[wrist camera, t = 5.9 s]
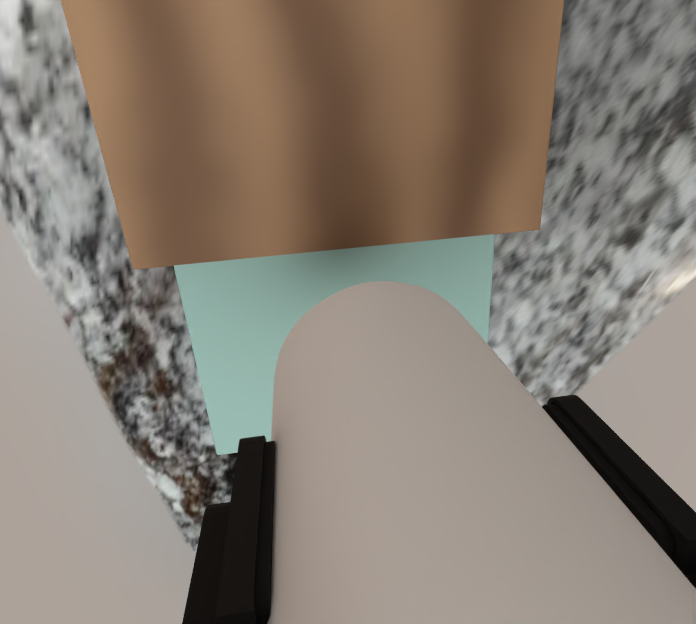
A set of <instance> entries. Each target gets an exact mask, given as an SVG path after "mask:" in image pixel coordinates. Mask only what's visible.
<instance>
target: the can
mask: <svg viewBox="0 0 696 624" xmlns="http://www.w3.org/2000/svg"><path fill="white" fill-rule="evenodd" d="M271 441H275V475H274V509H273V542H272V577H271V612H270V618H269V620H268V623H267V624H696V589H695V588H694V586H693V585H692V584H691V583H690V582H689V580H688V579H687V578H686V577H685V576H684V574H683V573H682V572H681V571H680V570H679V568H678V567H677V566H676V565H675V564H674V562H673V561H672V560H671V559H670V558H669V556H668V555H667V554H666V553H665V552H664V551H663V549H662V548H661V547H660V546H659V545H658V543H657V542H656V541H655V540H654V539H653V538H652V536H651V535H650V534H649V533H648V532H647V530H646V529H645V528H644V527H643V526H642V525H641V523H640V522H639V521H638V520H637V519H636V517H635V516H634V515H633V514H632V513H631V512H630V510H629V509H628V508H627V507H626V506H625V504H624V503H623V502H622V501H621V500H620V499H619V497H618V496H617V495H616V494H615V493H614V491H613V490H612V489H611V488H610V487H609V486H608V484H607V483H606V482H605V481H604V480H603V478H602V477H601V476H600V475H599V474H598V473H597V471H596V470H595V469H594V468H593V467H592V466H591V464H590V463H589V462H588V461H587V460H586V458H585V457H584V456H583V455H582V454H581V453H580V451H579V450H578V449H577V448H576V447H575V446H574V444H573V443H572V442H571V441H570V440H569V439H568V437H567V436H566V435H565V434H564V433H563V431H562V430H561V429H560V428H559V427H558V426H557V424H556V423H555V422H554V421H553V420H552V419H551V417H550V416H549V415H548V414H547V413H546V411H545V410H544V409H543V408H542V407H541V406H540V404H539V403H538V402H537V401H536V400H535V399H534V397H533V396H532V395H531V394H530V393H529V392H528V390H527V389H526V388H525V387H524V386H523V385H522V383H521V382H520V381H519V380H518V379H517V378H516V376H515V375H514V374H513V373H512V372H511V371H510V369H509V368H508V367H507V366H506V365H505V364H504V362H503V361H502V360H501V359H500V358H499V357H498V355H497V354H496V353H495V352H494V351H493V350H492V348H491V347H490V346H489V345H488V344H487V343H486V342H485V340H484V339H483V338H482V337H481V336H480V335H479V333H478V332H477V331H476V330H475V329H474V328H473V327H472V325H471V324H470V323H469V322H468V321H467V320H466V319H465V318H464V316H463V315H462V314H461V313H460V312H459V311H458V310H457V309H456V308H455V307H454V306H453V305H451V304H450V303H449V302H448V301H446V300H445V299H444V298H442V297H441V296H439V295H437V294H436V293H434V292H432V291H430V290H427V289H425V288H422V287H419V286H416V285H412V284H408V283H402V282H393V281H372V282H366V283H361V284H357V285H354V286H351V287H348V288H346V289H343V290H341V291H339V292H337V293H335V294H333V295H331V296H329V297H328V298H326V299H324V300H323V301H321V302H320V303H318V304H317V305H315V306H314V307H313V308H311V309H310V310H309V311H308V312H306V313H305V314H304V315H303V316H302V317H301V318H300V319H299V320H298V322H297V323H296V324H295V325H294V326H293V328H292V329H291V331H290V332H289V334H288V335H287V337H286V339H285V341H284V343H283V345H282V347H281V350H280V353H279V356H278V360H277V364H276V369H275V378H274V392H273V409H272V429H271Z"/></svg>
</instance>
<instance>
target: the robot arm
mask: <svg viewBox="0 0 696 624" xmlns="http://www.w3.org/2000/svg"><path fill="white" fill-rule="evenodd" d="M542 408H543V409H544V410H545V411H546V413H547V414H548V415H549V416H550V417H551V419H552V420H553V421H554V422H555V423H556V424H557V426H558V427H559V428H560V429H561V430H562V431H563V433H564V434H565V435H566V436H567V437H568V439H569V440H570V441H571V442H572V443H573V444H574V446H575V447H576V448H577V449H578V450H579V451H580V453H581V454H582V455H583V456H584V457H585V458H586V460H587V461H588V462H589V463H590V464H591V466H592V467H593V468H594V469H595V470H596V471H597V473H598V474H599V475H600V476H601V477H602V478H603V480H604V481H605V482H606V483H607V484H608V486H609V487H610V488H611V489H612V490H613V491H614V493H615V494H616V495H617V496H618V497H619V499H620V500H621V501H622V502H623V503H624V504H625V506H626V507H627V508H628V509H629V510H630V512H631V513H632V514H633V515H634V516H635V517H636V519H637V520H638V521H639V522H640V523H641V525H642V526H643V527H644V528H645V529H646V530H647V532H648V533H649V534H650V535H651V536H652V538H653V539H654V540H655V541H656V542H657V543H658V545H659V546H660V547H661V548H662V549H663V551H664V552H665V553H666V554H667V555H668V556H669V558H670V559H671V560H672V561H673V562H674V564H675V565H676V566H677V567H678V568H679V570H680V571H681V572H682V573H683V574H684V576H685V577H686V578H687V579H688V580H689V582H690V583H691V584H692V585H693V586H694V588H695V589H696V512H695V511H694V510H693V509H692V508H691V507H690V506H689V505H687V504H686V502H685V501H684V500H683V499H682V498H681V497H680V496H678V494H676V493H675V492H674V491H673V490H672V489H671V488H670V487H669V486H668V485H667V484H666V483H665V482H664V481H663V480H662V479H661V478H660V477H659V476H658V475H657V474H656V473H655V472H654V471H653V470H652V469H651V468H650V467H649V466H648V465H647V464H646V463H645V462H644V461H643V460H642V459H641V458H640V457H639V456H638V455H637V454H636V453H635V452H634V451H633V450H632V449H631V448H630V447H629V446H628V445H627V444H626V443H625V442H624V441H623V440H622V439H621V438H620V437H619V436H618V435H617V434H616V433H615V432H614V431H613V430H612V429H611V428H610V427H609V426H608V425H607V424H606V423H605V422H604V421H603V420H602V419H601V418H600V417H599V416H597V414H596V413H595V412H594V411H593V410H592V409H591V408H590V407H589V406H588V405H587V404H585V403H584V402H583V401H582V400H581V399H580V398H579V397H578V396H576V395H569V396H561V397H554V398H550V399H549V401H548V403H547V405H544V406H543V407H542ZM274 475H275V441H268V442H266V438H265V436H264V435H263V436H256V437H248V438H241V439H240V440H239V445H238V452H237V460H236V467H235V474H234V481H233V489H232V496H231V502H227V503H220V504H213V505H208V506H207V507H206V510H205V513H204V517H203V522H202V527H201V532H200V537H199V542H198V547H197V552H196V557H195V563H194V568H193V573H192V578H191V583H190V588H189V593H188V598H187V603H186V608H185V613H184V618H183V623H182V624H267V623H268V620H269V618H270V612H271V577H272V542H273V509H274Z"/></svg>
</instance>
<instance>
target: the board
mask: <svg viewBox="0 0 696 624" xmlns="http://www.w3.org/2000/svg"><path fill="white" fill-rule="evenodd" d="M61 3H62V6H63V10H64V14H65V17H66V21H67V25H68V29H69V32H70V36H71V40H72V44H73V47H74V51H75V55H76V58H77V62H78V66H79V70H80V73H81V77H82V81H83V85H84V88H85V92H86V96H87V99H88V103H89V107H90V111H91V114H92V118H93V122H94V125H95V129H96V133H97V137H98V140H99V144H100V148H101V152H102V155H103V159H104V163H105V166H106V170H107V174H108V178H109V181H110V185H111V189H112V193H113V196H114V200H115V204H116V207H117V211H118V215H119V219H120V222H121V226H122V230H123V234H124V237H125V241H126V245H127V248H128V252H129V256H130V260H131V263H132V267H133V269H143V268H153V267H164V266H174V265H184V264H194V263H205V262H215V261H225V260H235V259H245V258H256V257H266V256H276V255H286V254H297V253H307V252H317V251H327V250H338V249H348V248H358V247H368V246H378V245H389V244H399V243H409V242H419V241H430V240H440V239H450V238H460V237H471V236H481V235H491V234H501V233H511V232H522V231H532V230H540V223H541V213H542V204H543V195H544V185H545V176H546V166H547V157H548V147H549V138H550V128H551V119H552V109H553V100H554V90H555V81H556V71H557V62H558V52H559V43H560V34H561V24H562V15H563V5H564V0H61Z"/></svg>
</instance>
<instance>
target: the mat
mask: <svg viewBox="0 0 696 624" xmlns="http://www.w3.org/2000/svg"><path fill="white" fill-rule="evenodd" d="M494 237H495V234H491V235H481V236H471V237H460V238H450V239H440V240H430V241H419V242H409V243H399V244H389V245H378V246H368V247H358V248H348V249H338V250H327V251H317V252H307V253H297V254H286V255H276V256H266V257H256V258H245V259H235V260H225V261H215V262H205V263H194V264H184V265H174V269H175V273H176V278H177V282H178V286H179V291H180V295H181V299H182V304H183V308H184V313H185V317H186V321H187V326H188V330H189V334H190V339H191V343H192V347H193V352H194V356H195V360H196V365H197V369H198V373H199V378H200V382H201V386H202V391H203V395H204V400H205V404H206V408H207V413H208V417H209V421H210V426H211V430H212V434H213V439H214V443H215V447H216V452H217V455H221V454H229V453H236V452H238V445H239V440H240V439H241V438H248V437H256V436H263V435H264V436H265V438H266V442H268V441H271V429H272V409H273V392H274V378H275V369H276V364H277V360H278V356H279V353H280V350H281V347H282V345H283V343H284V341H285V339H286V337H287V335H288V334H289V332H290V331H291V329H292V328H293V326H294V325H295V324H296V323H297V322H298V320H299V319H300V318H301V317H302V316H303V315H304V314H305V313H306V312H308V311H309V310H310V309H311V308H313V307H314V306H315V305H317V304H318V303H320V302H321V301H323V300H324V299H326V298H328V297H329V296H331V295H333V294H335V293H337V292H339V291H341V290H343V289H346V288H348V287H351V286H354V285H357V284H361V283H366V282H372V281H393V282H402V283H408V284H412V285H416V286H419V287H422V288H425V289H427V290H430V291H432V292H434V293H436V294H437V295H439V296H441V297H442V298H444V299H445V300H446V301H448V302H449V303H450V304H451V305H453V306H454V307H455V308H456V309H457V310H458V311H459V312H460V313H461V314H462V315H463V316H464V318H465V319H466V320H467V321H468V322H469V323H470V324H471V325H472V327H473V328H474V329H475V330H476V331H477V332H478V333H479V335H480V336H481V337H482V338H483V339H484V340H485V342H486V343H487V344H488V329H489V314H490V298H491V283H492V268H493V253H494Z"/></svg>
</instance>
